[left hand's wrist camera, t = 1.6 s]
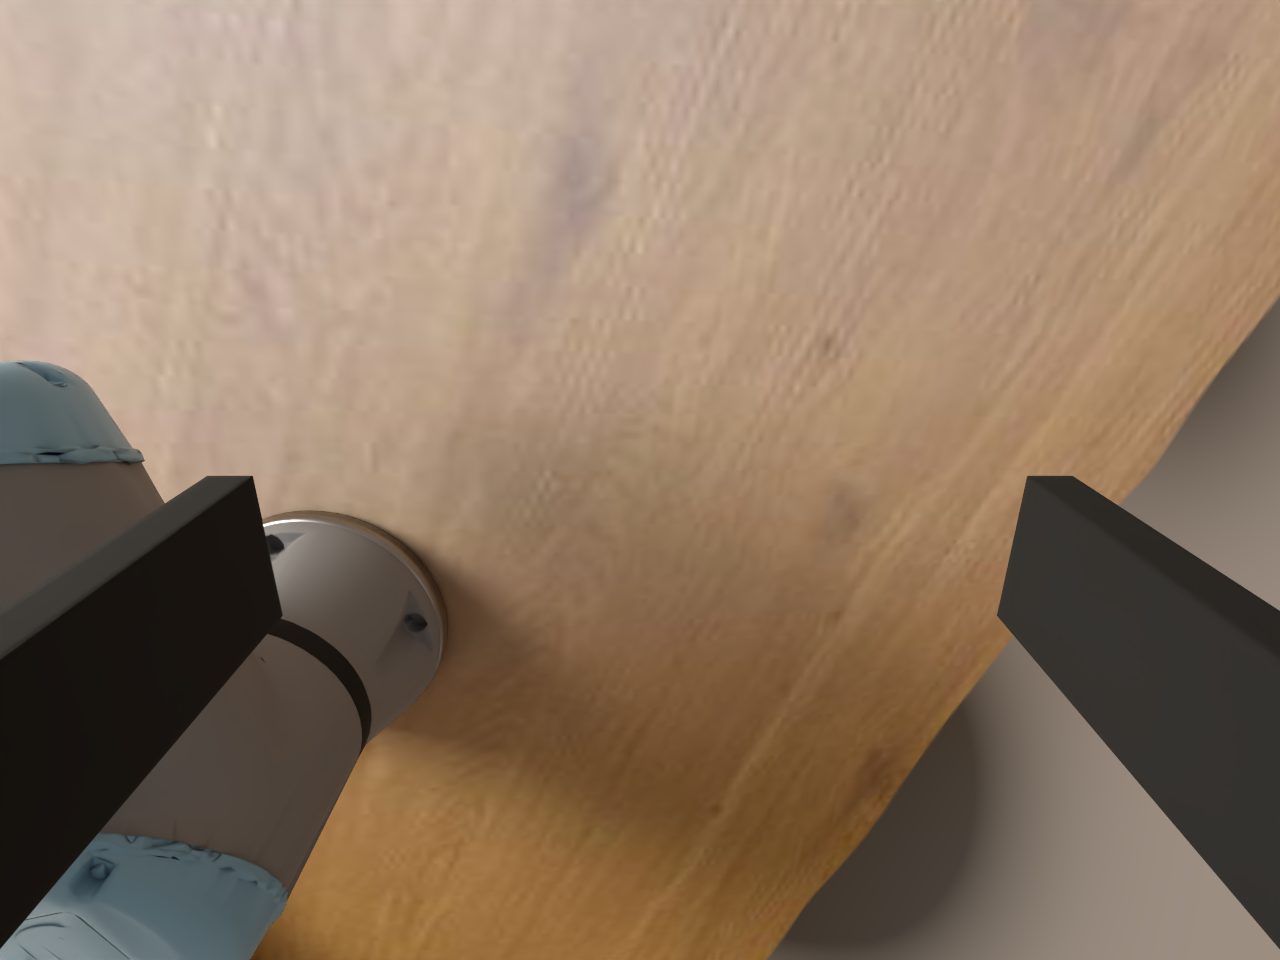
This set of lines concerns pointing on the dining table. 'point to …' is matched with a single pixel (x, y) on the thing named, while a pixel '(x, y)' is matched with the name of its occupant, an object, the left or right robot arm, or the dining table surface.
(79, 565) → the left robot arm
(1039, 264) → the dining table surface
